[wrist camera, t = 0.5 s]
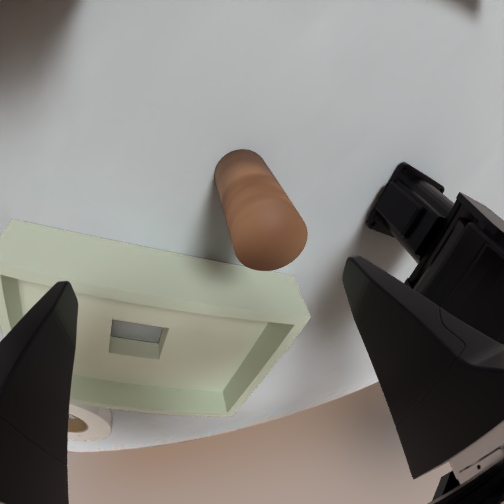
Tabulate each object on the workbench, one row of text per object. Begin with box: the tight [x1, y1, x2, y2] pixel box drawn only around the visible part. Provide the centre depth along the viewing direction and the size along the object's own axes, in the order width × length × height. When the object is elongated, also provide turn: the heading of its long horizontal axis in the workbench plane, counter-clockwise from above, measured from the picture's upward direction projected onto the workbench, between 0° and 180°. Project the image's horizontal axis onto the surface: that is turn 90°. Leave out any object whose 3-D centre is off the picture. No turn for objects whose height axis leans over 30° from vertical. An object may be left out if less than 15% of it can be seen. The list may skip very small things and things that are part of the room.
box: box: [0, 219, 311, 417], centre depth 26 cm, size 24×18×5 cm
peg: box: [215, 149, 307, 271], centre depth 18 cm, size 4×4×8 cm
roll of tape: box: [68, 402, 112, 441], centre depth 35 cm, size 16×15×3 cm
